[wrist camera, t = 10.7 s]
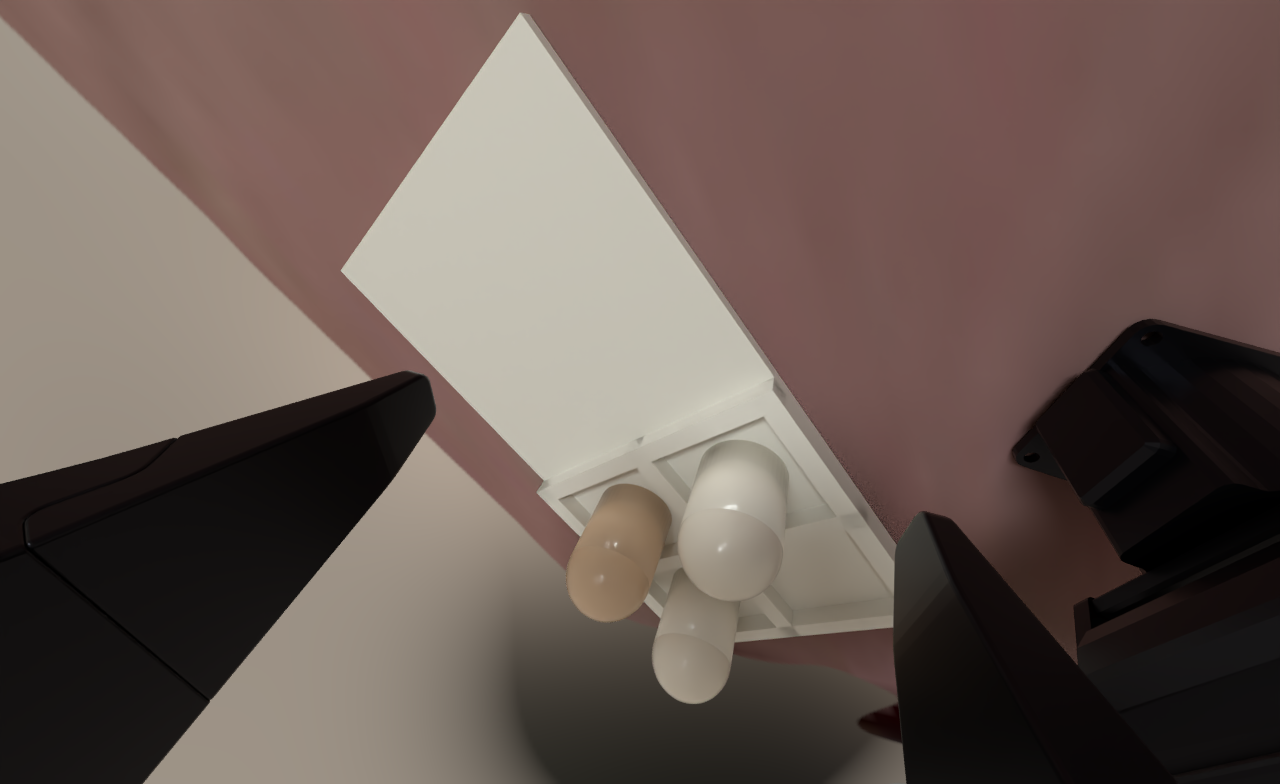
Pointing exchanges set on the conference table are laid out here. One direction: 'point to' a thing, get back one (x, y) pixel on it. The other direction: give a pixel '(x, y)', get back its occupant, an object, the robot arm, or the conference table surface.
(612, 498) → the brown egg
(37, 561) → the robot arm
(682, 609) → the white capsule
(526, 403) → the egg carton
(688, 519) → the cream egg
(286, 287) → the conference table surface
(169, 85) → the conference table surface
